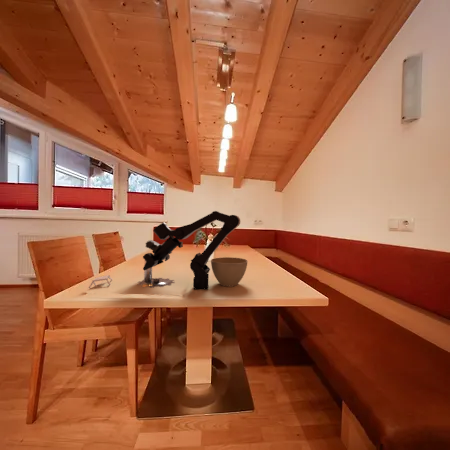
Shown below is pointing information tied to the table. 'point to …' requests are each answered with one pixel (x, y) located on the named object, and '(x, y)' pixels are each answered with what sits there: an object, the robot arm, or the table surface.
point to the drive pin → (147, 274)
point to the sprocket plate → (162, 283)
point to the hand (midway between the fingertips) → (145, 268)
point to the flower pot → (229, 270)
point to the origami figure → (101, 280)
